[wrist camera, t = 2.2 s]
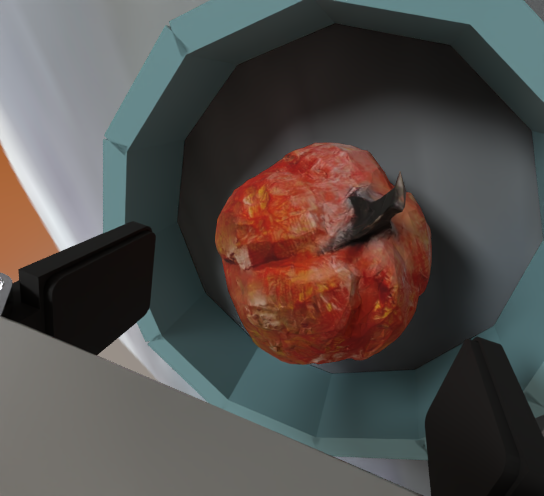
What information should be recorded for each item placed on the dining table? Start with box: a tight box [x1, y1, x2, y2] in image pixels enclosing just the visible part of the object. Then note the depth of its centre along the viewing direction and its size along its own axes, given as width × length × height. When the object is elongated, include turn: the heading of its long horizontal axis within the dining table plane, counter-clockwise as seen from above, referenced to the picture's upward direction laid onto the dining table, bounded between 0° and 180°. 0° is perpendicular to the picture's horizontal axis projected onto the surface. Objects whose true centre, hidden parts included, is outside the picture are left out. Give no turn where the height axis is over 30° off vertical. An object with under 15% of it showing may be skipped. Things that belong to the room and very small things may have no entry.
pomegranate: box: [215, 143, 432, 365], centre depth 13 cm, size 7×7×10 cm
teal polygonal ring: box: [103, 0, 544, 460], centre depth 14 cm, size 17×17×4 cm
